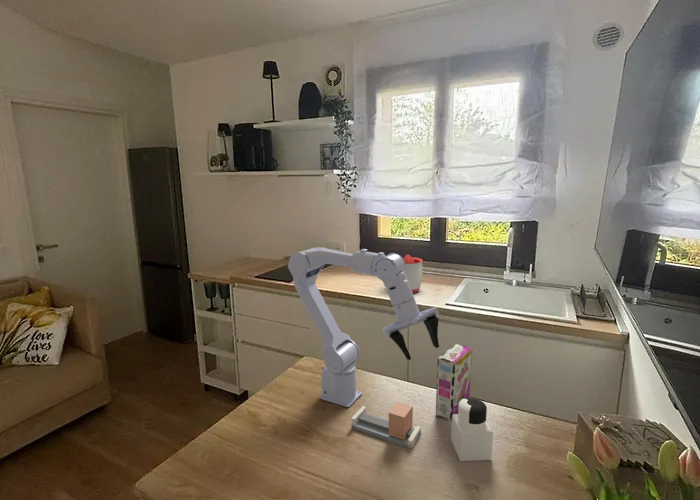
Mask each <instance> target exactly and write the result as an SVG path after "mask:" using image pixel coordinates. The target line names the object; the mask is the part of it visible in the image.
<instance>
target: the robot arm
mask: <svg viewBox="0 0 700 500" xmlns="http://www.w3.org/2000/svg"><path fill="white" fill-rule="evenodd" d="M403 258H404V257H403V256H401V255H400V254H398V253H395V252H390V253H388V254H387V255H385V252H382V251H381V252H380V251H379V252H378V253H377V252H372V251H368V249H366V248H362V249H360V250H357V251H356V252H354V253H349V252H344V251H340V250H335V249H330V248H326V247H325V246H324V247H318V246H313V247H311V248H308V249H305V250H302V251H298V252H297V251H296V252H293V253H292V254H291V256H290V258H289V261H288V264H287V269H288V270H289V272H290V275H291V276H292V280H293V285H294V288H295V290H296V292H297V294H298V295H299V297H300V299H301V301H302V304H303V305H304V307H305V308H306V309H305V310H306V311H307V313H308V314H309V316H310V318H311V320H312V323H313V324H314V326H315V328H316V331H318V334H319V336H320V337H321V339H322V340H323V343H322V348H321V354H322V356H323V360H324V365H325V366H324V367H323V369H322V371H321V376H320V380H321V381H320V383H321V395H320V396H319V399H320V400H323V401H327V402H330V403H333V404H335V405H336V404H337V405H338V406H342V407H346V408H350V407H351V406H352V405H353V403H355V402H356V401H357V400H358V399H359V398H360V397H361V396H362V395H363V392H362V391H359V390H357V385H356V384H357V378H356V377H357V375H356V371H357V369H356V364H357V360H358V359H359V357H360V354H361V353H360V351H361V350H360V348H359V346H358V344H357V343H355V342H354V340H352V339H351V337H350V335H349V334H347V333H344V332H342V331H341V329H340V328H339V326H338V323H337V321H336V320H335V318H334V316H333V314H332V312H331V311H330V309H329V307H328V305H327V304H326V301H325V299H324V298H323V296H322V294H321V292H320V290H319V288H318V287H317V285H316V281H317V278H318V275H319V274H320V272H321V270H322V269H323V268H324V266H325V264H326V265H327V264H328V265H333V266H340V267H341V266H343V267H350V268H351V269H352V271H353V272H354V273H359V274H363V275H369V276H373V277H377V278H378V279H379V280H380V281H381V282H382V284H383V285H384V287H385V290H386V292H387V295H388V297H389V299H390V300H389V301H390V303H391V305H392V308H393V311H394V313H395V316H396V319H397V321H395V322H393V323H391V324H388V325H386V326H385V327H383V328H381V329H382V331H383V332H382V333H383V334H384V336H385V337H386V338H387V337H389V338H390V339H391V340H392V341H393V342H394V343H395V344H396V345H397V346H398V348H399V349H400V351H401V352H402V353H403V355H404V357H405V358H406V360H407V361H410V360H412V357H411V355H410V351H409V350H408V348H407V345H406V343H405V338H404V335H403V334H402V333H401V331H402V330H405V329H407V328H409V327H412V326H414V325H417V324H419V323H422V322H423V323H424V325H425V328H426V330H427V332H428V334H429V337H430V340H431V343H432V346H433V347H434V348H435V349H437V348H440V344H439V337H438V332H439V330H438V327H439V323H440V322H439V318H438V317H439V316H440V312H439V310H438V307H435V306H433V307H431V308H430V307H429V308H428V309H425V310H422V311H420V309H419V306H418V305H417V301H416V298H415V296H414V293H412V290H411V288H410V285H409V282H408V280H407V277H406V275H405V272H404V270H405V261H404V259H403Z"/></svg>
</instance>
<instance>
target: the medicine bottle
mask: <svg viewBox="0 0 700 500" xmlns="http://www.w3.org/2000/svg"><path fill="white" fill-rule="evenodd" d="M487 409H488V408H487V405H486V404H485V402H483V401H482V400H480V399H477V398H476V397H475V398H473V397H469V398H464V399H462V400H461V401H460V402H459V408H458V414H453V415H452V421H451V435H450V436H451V437H450V438H451V439H450V440H451V443H452V446H453V448H454V450H455V453H456V455H457V457H458V460H459V461H460V462H477V461H480V462H481V461H491V460H492V459H493V457H492V456H493V440H494V439H493V438H494V432H493V429H492V428H491V426H490V425H489V423H488V421H487V411H488V410H487Z"/></svg>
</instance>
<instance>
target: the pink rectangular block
mask: <svg viewBox="0 0 700 500" xmlns="http://www.w3.org/2000/svg"><path fill="white" fill-rule="evenodd" d="M413 408H414V407H413V405H410V404H406V403H403V402H400V401H397V402H396V403H395V404H394V405H393V406H392V408H391V409H390V410H389V412H388V420H389V435H391V436H394V437H397V438H400V439H403V440H405V438H406V434H407V432H408V431H409V429H412V428H414V427H413V423H414V421H413V415H414V414H413V413H414V409H413Z"/></svg>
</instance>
